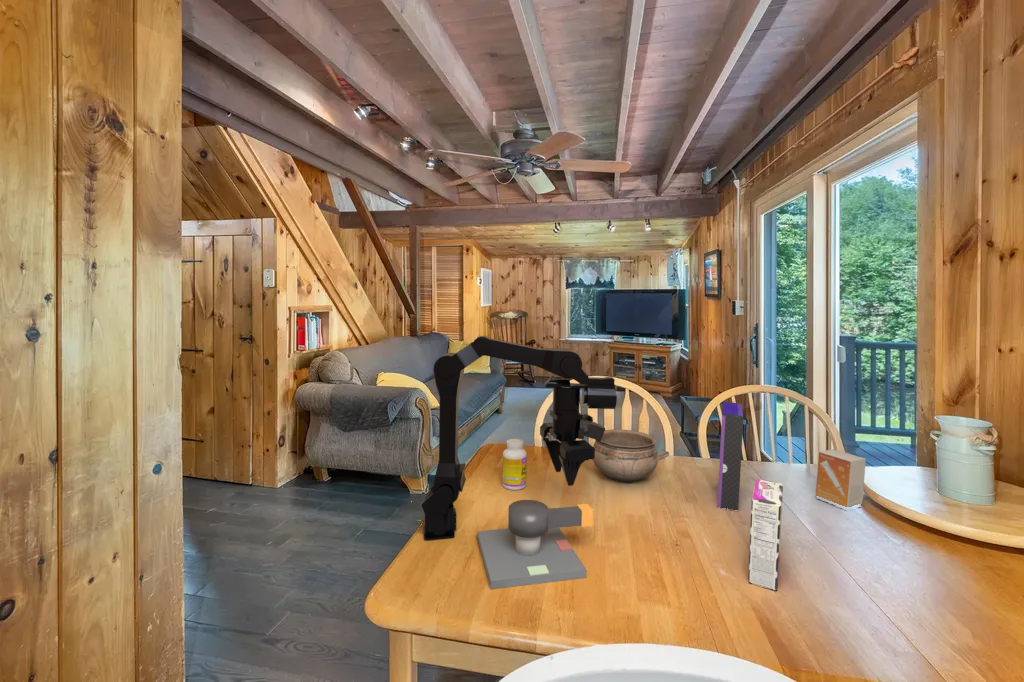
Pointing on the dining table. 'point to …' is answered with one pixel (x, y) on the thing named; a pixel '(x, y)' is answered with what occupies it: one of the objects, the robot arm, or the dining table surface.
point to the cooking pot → (626, 455)
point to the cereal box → (730, 456)
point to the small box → (840, 477)
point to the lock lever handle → (545, 518)
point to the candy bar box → (765, 533)
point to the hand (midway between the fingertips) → (564, 478)
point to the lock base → (528, 558)
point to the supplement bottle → (514, 465)
